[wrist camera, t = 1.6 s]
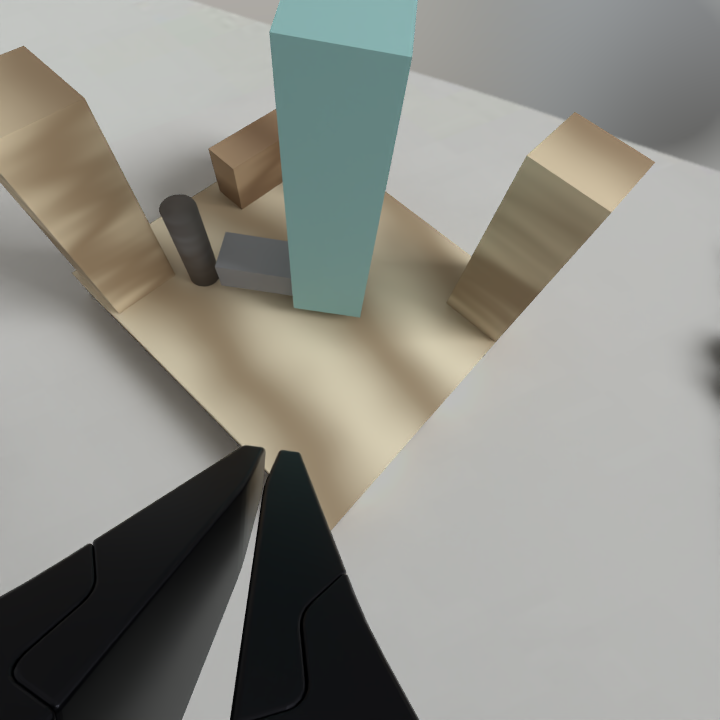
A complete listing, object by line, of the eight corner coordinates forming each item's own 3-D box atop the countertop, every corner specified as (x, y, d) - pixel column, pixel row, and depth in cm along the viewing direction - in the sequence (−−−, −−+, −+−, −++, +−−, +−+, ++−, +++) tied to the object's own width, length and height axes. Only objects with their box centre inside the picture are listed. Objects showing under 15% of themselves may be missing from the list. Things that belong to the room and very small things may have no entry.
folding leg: (218, 296, 22) (105, 3, 10) (234, 243, 23) (151, -69, 11) (360, 317, 22) (412, 57, 10) (366, 263, 24) (419, -20, 12)
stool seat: (327, 534, 20) (342, 521, 9) (90, 293, 24) (-94, 87, 13) (516, 318, 26) (658, 159, 16) (302, 153, 30) (295, -68, 19)
